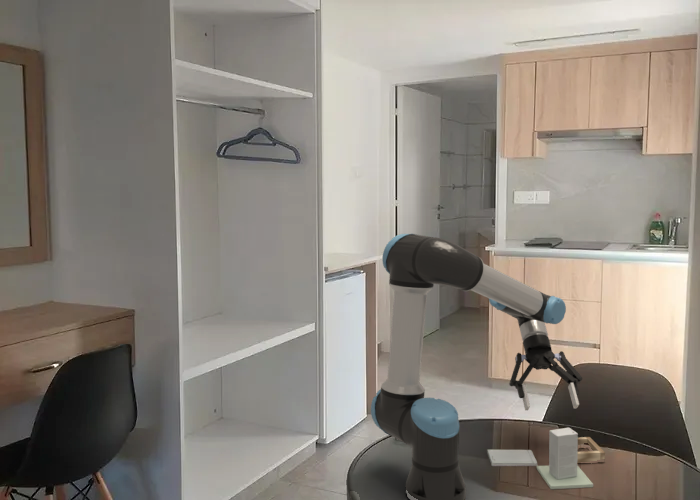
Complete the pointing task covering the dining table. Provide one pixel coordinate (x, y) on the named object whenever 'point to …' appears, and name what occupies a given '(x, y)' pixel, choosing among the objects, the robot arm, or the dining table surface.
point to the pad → (565, 479)
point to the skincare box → (563, 453)
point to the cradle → (589, 455)
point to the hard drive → (511, 458)
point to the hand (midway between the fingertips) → (552, 407)
